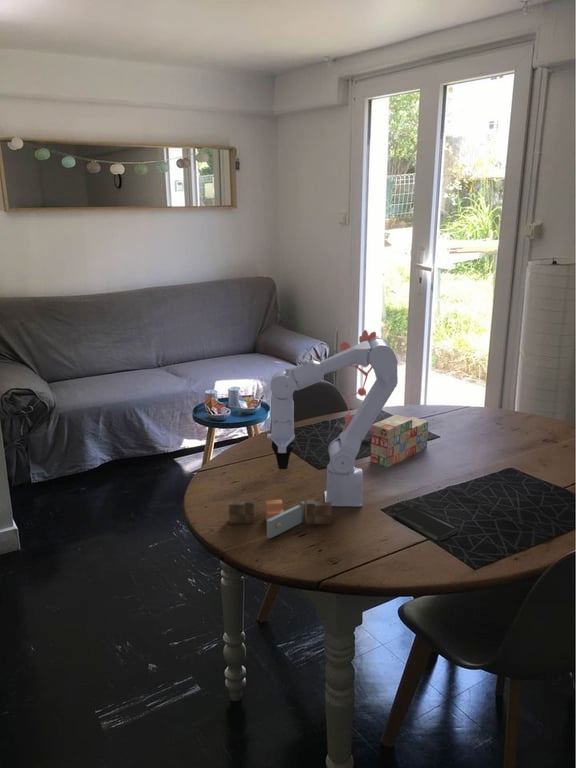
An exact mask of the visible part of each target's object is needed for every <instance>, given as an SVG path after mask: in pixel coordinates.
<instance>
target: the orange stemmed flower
mask: <svg viewBox="0 0 576 768" xmlns="http://www.w3.org/2000/svg"><path fill="white" fill-rule="evenodd" d="M358 338H359V339H358V340H359V343H361V342H364V341H370V340H371V339H373V338H381V337H380V336H377V333H376V331H372V332H370V333H368V330H367V329H363V331H362V334H361V335H360V336H359V337H358ZM349 348H351V345H350V343H348V342H347V341H346V340H345V341H342V342H341V343H340V344H339V349H340V351H341V352H342V351H344V350H347V349H349ZM369 365H370V363H369V362H367V367H369ZM359 366H360V365H358V364H352V365H349V366H348V367H353V368H355V369H357V370H359V372H360V373H362V374H363V375H364V376H365V379H364V382H363V386H362V387H360V388H358V390H357V392H355V393H352V394H349V395H346V405H347V410H348V414H346V415H344V421H345V425H344V427H343V429H342V430H341V431H342V432H343V431H345V430H346V428H347V427H348V425H349V423H350V422H351V420H352V418H353V417H354V415H351V414H350V406H349V399H348V398H350V397H352V396H354V395H359V396H361V397H363V396H365V397H366V396H367V389H366V388H365V384H366V383H367V379H368V375H369V373H370V372H371V370H372V369H373V368H372V366H371V365H370V368H369V369H368V370H367V372H366V371H365V370H363V369H362V368H361V367H359ZM362 367H363V368H366V367H365V366H362ZM369 431H370V432H371V433H372V426H371V427H370V429H369ZM342 432H341V433H342Z"/></svg>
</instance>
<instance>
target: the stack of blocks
mask: <svg viewBox="0 0 576 768" xmlns="http://www.w3.org/2000/svg"><path fill="white" fill-rule="evenodd" d="M428 429H429V421H428V420H425V419H422V418H418V417H414V416H411V417H407V416H402V415H398V414H394V415H391V416H390V417H387V418H385V419H383V420H380V421H378V422H377V421H376V422H374V423H373V424H372V432H371V434H370V435H371V436H370V463H373V464H376V465H378V466H381V467H384V468H386V469H387V468H388V467H392V466H393V465H396V464H397V463H400V462H402V461H404V460H405V459H407V458H410V457H411V456H413V455H415V454H418V453H420V452H422V451H424V450H425V449H427V448H428V438H429V430H428Z"/></svg>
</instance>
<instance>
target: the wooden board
mask: <svg viewBox="0 0 576 768" xmlns="http://www.w3.org/2000/svg"><path fill="white" fill-rule="evenodd" d="M332 507H333V506H332V505H331V502H325V501H324V502H323V501H316V500H315V499H306V525H332V509H333V508H332ZM228 518H229V519H228V520H229V521H228V523H229V524H255V499H253V498H251V499H250V498H246V499H245V500H244V501H242V500H229V502H228Z"/></svg>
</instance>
